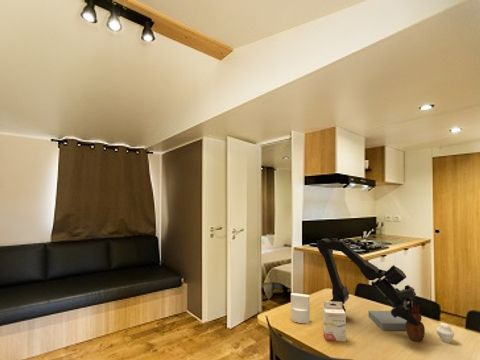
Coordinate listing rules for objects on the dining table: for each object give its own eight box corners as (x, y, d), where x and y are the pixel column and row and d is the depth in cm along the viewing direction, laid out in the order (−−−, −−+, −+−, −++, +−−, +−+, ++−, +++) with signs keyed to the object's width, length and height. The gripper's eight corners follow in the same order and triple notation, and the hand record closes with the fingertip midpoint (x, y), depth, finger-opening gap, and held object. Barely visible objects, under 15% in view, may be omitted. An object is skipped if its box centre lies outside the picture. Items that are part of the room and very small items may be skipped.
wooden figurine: (422, 337, 119) (421, 301, 120) (426, 343, 114) (425, 306, 115) (404, 334, 121) (403, 299, 122) (408, 341, 116) (406, 304, 117)
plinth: (382, 330, 126) (382, 323, 126) (368, 316, 140) (368, 310, 140) (413, 330, 126) (413, 323, 126) (396, 316, 140) (396, 310, 140)
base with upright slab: (289, 322, 135) (289, 296, 135) (293, 314, 143) (292, 291, 144) (308, 325, 131) (307, 299, 132) (311, 317, 139) (310, 293, 140)
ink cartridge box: (325, 340, 117) (325, 305, 118) (323, 334, 122) (322, 300, 123) (346, 341, 116) (345, 305, 117) (343, 335, 121) (342, 301, 122)
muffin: (438, 335, 121) (437, 318, 121) (456, 340, 117) (455, 323, 117) (435, 340, 117) (434, 323, 117) (453, 346, 112) (452, 328, 113)
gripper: (398, 285, 114) (432, 320, 107) (406, 275, 129) (436, 305, 121) (378, 300, 119) (409, 335, 111) (388, 289, 133) (416, 319, 126)
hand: (418, 323), depth 117 cm, fingers closed on wooden figurine, 5 cm apart
